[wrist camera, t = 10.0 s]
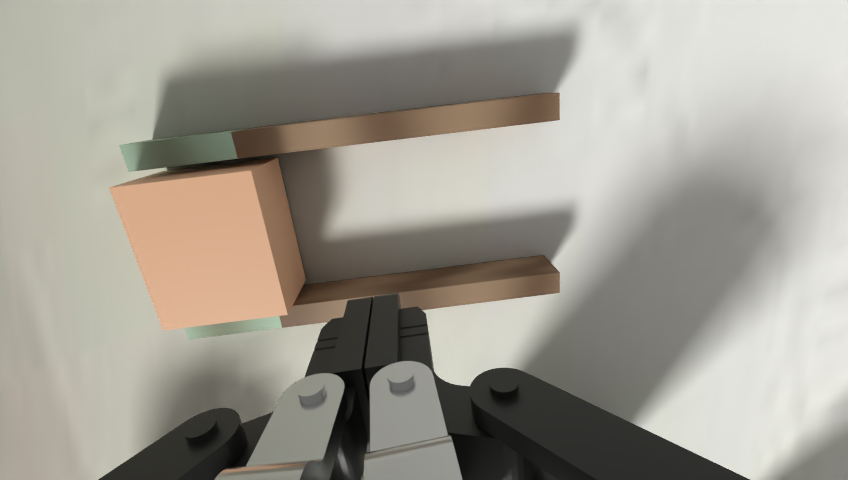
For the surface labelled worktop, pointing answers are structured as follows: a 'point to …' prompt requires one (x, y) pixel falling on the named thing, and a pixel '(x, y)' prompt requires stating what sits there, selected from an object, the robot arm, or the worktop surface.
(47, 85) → the worktop surface
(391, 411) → the robot arm
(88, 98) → the worktop surface
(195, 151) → the walnut chute
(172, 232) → the terracotta block
